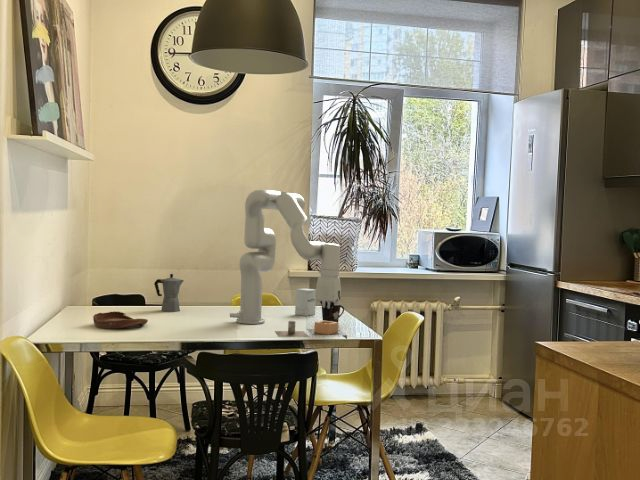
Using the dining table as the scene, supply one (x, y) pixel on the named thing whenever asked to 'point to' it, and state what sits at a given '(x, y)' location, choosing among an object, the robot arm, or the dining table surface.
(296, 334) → the stand
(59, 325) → the dining table surface
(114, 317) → the brown wooden bowl
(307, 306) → the supplement box
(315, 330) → the collar
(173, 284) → the coffeepot
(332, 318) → the coffee mug
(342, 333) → the base plate
